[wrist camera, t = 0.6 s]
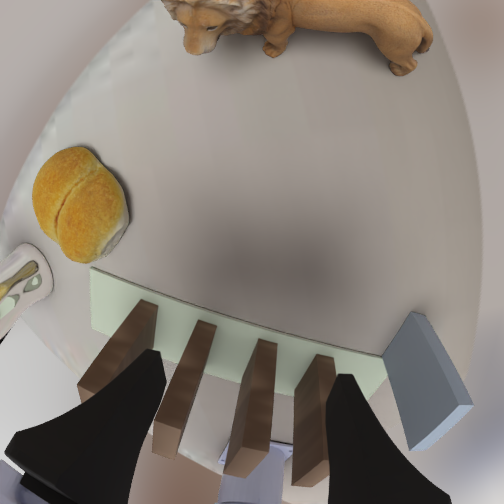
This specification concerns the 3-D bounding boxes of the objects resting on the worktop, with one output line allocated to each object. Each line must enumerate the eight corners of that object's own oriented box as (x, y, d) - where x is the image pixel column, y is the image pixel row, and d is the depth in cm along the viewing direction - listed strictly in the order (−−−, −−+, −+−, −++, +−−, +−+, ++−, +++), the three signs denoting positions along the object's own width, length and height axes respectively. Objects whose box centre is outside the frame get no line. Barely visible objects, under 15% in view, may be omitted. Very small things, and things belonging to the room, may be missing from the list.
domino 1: (158, 305, 22) (99, 396, 13) (153, 347, 24) (107, 433, 15) (140, 298, 22) (76, 384, 13) (137, 341, 24) (87, 423, 15)
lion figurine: (208, 83, 16) (145, 48, 8) (202, 14, 14) (146, -51, 6) (430, 82, 14) (515, 64, 6) (418, 15, 12) (484, -32, 4)
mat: (359, 406, 25) (360, 408, 25) (93, 326, 25) (91, 328, 25) (397, 359, 23) (398, 361, 22) (91, 266, 22) (89, 268, 22)
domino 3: (277, 343, 23) (269, 452, 13) (259, 381, 25) (245, 478, 15) (258, 338, 23) (241, 446, 13) (242, 376, 25) (222, 473, 15)
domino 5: (424, 315, 21) (474, 405, 11) (395, 359, 23) (425, 450, 13) (410, 311, 21) (459, 404, 11) (381, 356, 23) (409, 450, 13)
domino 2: (217, 325, 22) (181, 430, 13) (205, 365, 24) (174, 460, 15) (198, 319, 22) (153, 420, 13) (188, 360, 24) (152, 452, 15)
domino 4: (333, 357, 23) (346, 461, 13) (309, 393, 25) (311, 487, 15) (316, 353, 23) (323, 459, 13) (294, 389, 25) (291, 485, 15)
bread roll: (74, 128, 18) (40, 131, 14) (149, 201, 20) (121, 217, 16) (37, 204, 21) (7, 218, 17) (100, 271, 23) (74, 294, 19)
